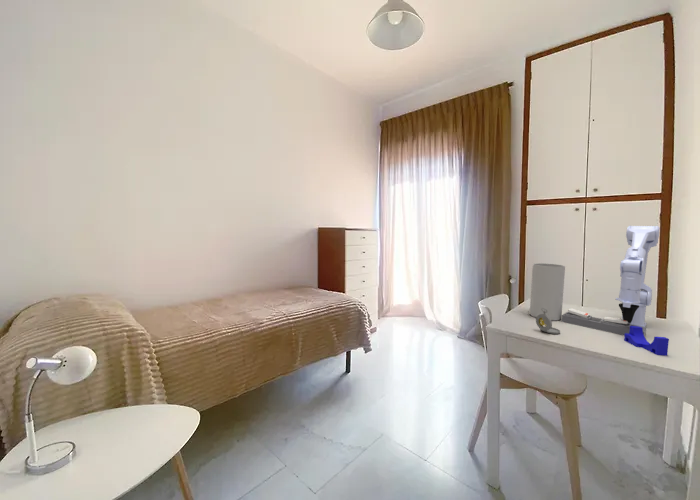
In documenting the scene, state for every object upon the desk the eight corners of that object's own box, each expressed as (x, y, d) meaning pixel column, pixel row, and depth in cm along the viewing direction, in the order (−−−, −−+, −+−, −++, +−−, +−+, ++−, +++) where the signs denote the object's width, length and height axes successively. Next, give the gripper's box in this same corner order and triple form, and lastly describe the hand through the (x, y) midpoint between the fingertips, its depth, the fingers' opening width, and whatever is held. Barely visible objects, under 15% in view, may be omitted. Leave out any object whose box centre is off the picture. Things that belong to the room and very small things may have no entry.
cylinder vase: (523, 314, 138) (526, 264, 136) (539, 311, 143) (542, 262, 141) (551, 322, 126) (554, 267, 124) (567, 319, 132) (571, 266, 130)
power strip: (566, 318, 133) (567, 310, 133) (645, 334, 113) (646, 325, 113) (561, 321, 128) (562, 313, 128) (643, 339, 108) (644, 330, 108)
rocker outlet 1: (569, 310, 131) (570, 307, 130) (588, 317, 125) (589, 313, 125) (567, 312, 128) (568, 309, 127) (586, 319, 123) (587, 315, 122)
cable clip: (623, 340, 107) (625, 325, 107) (637, 341, 106) (639, 326, 106) (651, 355, 95) (653, 337, 95) (667, 356, 95) (668, 338, 94)
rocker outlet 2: (605, 319, 121) (605, 316, 121) (628, 322, 116) (628, 319, 116) (603, 322, 118) (603, 318, 118) (627, 325, 113) (627, 321, 113)
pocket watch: (561, 331, 116) (562, 307, 115) (558, 337, 110) (560, 312, 109) (537, 326, 121) (539, 303, 120) (533, 331, 115) (535, 308, 114)
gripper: (619, 285, 121) (616, 316, 122) (613, 289, 112) (611, 323, 113) (642, 288, 115) (640, 320, 116) (639, 292, 106) (636, 327, 107)
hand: (627, 322), depth 114 cm, fingers closed, pressing on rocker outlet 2
